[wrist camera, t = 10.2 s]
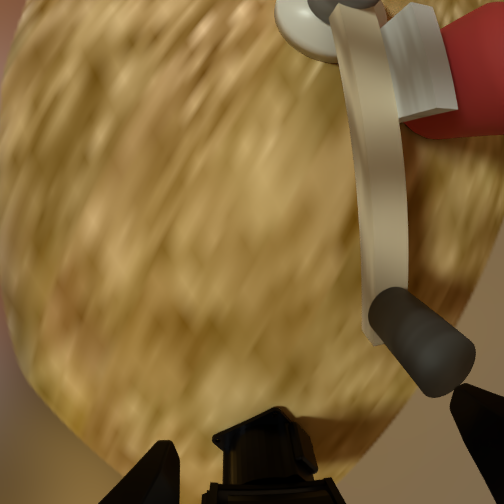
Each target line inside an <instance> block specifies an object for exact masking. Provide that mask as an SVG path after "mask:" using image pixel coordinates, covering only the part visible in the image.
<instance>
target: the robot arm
mask: <svg viewBox="0 0 504 504" xmlns="http://www.w3.org/2000/svg"><path fill="white" fill-rule="evenodd" d="M450 411H451V414H452V416H453V418H454V420H455V422H456V425H457V427H458V429H459V432H460V434H461V436H462V439H463V441H464V443H465V445H466V447H467V449H468V451H469V453H470V454H471V456H472V458H473V460H474V462H475V463H476V465H477V467H478V469H479V471H480V473H481V474H482V476H483V478H484V480H485V482H486V484H487V486H488V488H489V490H490V492H491V494H492V496H493V497H494V500H495V501H496V504H504V397H503V396H500V395H497V394H494V393H492V392H489V391H486V390H483V389H481V388H478V387H475V386H473V385H470V384H468V383H464V384H461V385H459V386H456V387H455V389H454V392H453V395H452V399H451V402H450ZM274 413H277V414H274ZM217 439H220V440H217ZM212 442H213V443H214V444H215V445H216V446H217V447H218V448H220V449H221V450H222V451H223V484H218V483H212V482H210V491H209V490H207V493H205V494H203V495H202V502H201V504H346V503H345V501H344V499H343V497H342V496H341V494H340V492H339V490H338V489H337V487H336V485H335V483H334V481H333V480H332V478H331V477H330V478H324V479H323V480H314V477H313V474H315V473H317V471H318V466H317V463H316V459H315V455H314V451H313V446H312V443H311V440H310V437H309V436H308V435H307V433H306V432H305V431H304V430H303V429H302V428H301V427H300V426H299V425H298V424H297V423H296V422H291V420H290V419H289V418H288V417H287V416H286V415H285V414H284V413H283V412H282V411H281V409H279V408H271V409H269V410H267V411H265V412H263V413H261V414H259V415H257V416H255V417H253V418H251V419H249V420H247V421H244V422H242V423H240V424H238V425H236V426H233V427H231V428H229V429H227V430H224V431H222V432H220V433H217V434H215V435H213V437H212ZM179 498H180V459H179V456H178V453H177V451H176V449H175V446H174V444H173V442H172V441H170V440H159V441H157V442H156V443H155V444H154V445H153V446H152V447H151V449H150V450H149V451H148V452H147V453H146V454H145V455H144V456H143V457H142V458H141V459H140V460H139V462H138V463H137V464H136V465H135V466H134V467H133V468H132V469H131V470H130V471H129V472H128V473H127V474H126V475H125V476H124V477H123V479H122V480H121V481H120V482H119V483H118V484H117V485H116V486H115V487H114V488H113V489H112V490H111V491H110V492H109V493H108V494H107V495H106V496H105V497H104V498H103V499H102V500H101V501H100V502H99V503H98V504H179Z"/></svg>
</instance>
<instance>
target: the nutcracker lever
mask: <svg viewBox="0 0 504 504" xmlns="http://www.w3.org/2000/svg"><path fill="white" fill-rule="evenodd" d="M379 1H380V0H307V2H308V5H309V8H310V9H311V11H312V12H313V13H314V15H315V16H316V17H318V18H319V19H320V20H322V21H323V22H325V23H327V24H329V25H330V26H331V30H332V35H333V39H334V44H335V48H336V53H337V58H338V63H339V68H340V73H341V79H342V84H343V90H344V96H345V102H346V108H347V115H348V121H349V128H350V136H351V143H352V151H353V160H354V169H355V179H356V189H357V201H358V213H359V228H360V247H361V274H362V331H363V333H364V334H365V335H366V337H367V338H368V339H369V341H370V342H371V343H372V345H373V346H377V345H381V344H385V345H386V346H387V347H388V349H389V350H390V351H391V352H392V354H393V355H394V356H395V357H396V359H397V360H398V361H399V363H400V364H401V365H402V366H403V368H404V369H405V370H406V371H407V373H408V374H409V375H410V377H411V378H412V379H413V380H414V382H415V383H416V384H417V386H418V387H419V388H420V389H421V391H422V392H423V393H424V394H425V395H426V396H428V397H432V398H436V397H441V396H444V395H446V394H448V393H450V392H452V391H453V390H454V389H455V387H456V386H459V385H460V384H461V383H462V382H463V381H464V380H465V378H466V377H467V376H468V374H469V373H470V371H471V369H472V367H473V364H474V361H475V355H476V351H475V346H474V344H473V343H472V342H471V341H470V340H469V339H468V338H466V337H465V336H464V335H463V334H462V333H460V332H459V331H458V330H457V329H455V328H454V327H453V326H452V325H450V324H449V323H448V322H447V321H445V320H444V319H443V318H442V317H440V316H439V315H438V314H437V313H435V312H434V311H433V310H432V309H430V308H429V307H428V306H426V305H425V304H424V303H423V302H421V301H420V300H419V299H417V298H416V297H415V296H413V295H412V294H411V293H410V292H408V214H407V195H406V180H405V169H404V158H403V149H402V141H401V133H400V125H399V123H402V122H406V121H410V120H414V119H418V118H422V117H427V116H431V115H435V114H440V113H444V112H449V111H454V110H458V106H457V100H456V94H455V89H454V84H453V79H452V75H451V70H450V66H449V62H448V58H447V54H446V50H445V46H444V42H443V39H442V35H441V32H440V29H439V25H438V22H437V19H436V16H435V13H434V10H433V7H431V6H426V5H422V4H418V3H413V2H410V3H409V4H408V5H407V6H406V7H404V8H403V9H402V10H401V11H400V12H399V13H397V14H396V15H395V16H394V17H393V18H392V19H391V20H390V21H388V22H387V23H386V24H385V25H384V26H383V27H382V28H381V29H380V27H379V23H378V20H377V16H376V13H375V9H374V6H375V5H376V4H377V3H378V2H379Z"/></svg>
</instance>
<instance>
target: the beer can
mask: <svg viewBox="0 0 504 504" xmlns="http://www.w3.org/2000/svg"><path fill="white" fill-rule="evenodd" d="M440 32H441V35H442V39H443V42H444V46H445V50H446V54H447V58H448V62H449V66H450V70H451V75H452V79H453V84H454V89H455V94H456V100H457V106H458V110H454V111H449V112H444V113H440V114H435V115H431V116H427V117H422V118H418V119H414V120H410V121H406V122H403V123H404V124H406V125H407V126H408V127H409V128H410V129H411V130H412V131H413V132H415V133H417V134H419V135H421V136H423V137H425V138H429V139H449V138H460V137H472V136H487V135H504V2H492V3H487V4H485V5H483V6H481V7H479V8H477V9H475V10H473V11H472V12H470V13H468V14H466V15H464V16H463V17H461V18H459V19H457V20H456V21H454V22H452V23H450V24H449V25H447V26H445V27H444V28H442V29H440Z"/></svg>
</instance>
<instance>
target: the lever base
mask: <svg viewBox="0 0 504 504" xmlns="http://www.w3.org/2000/svg"><path fill="white" fill-rule="evenodd" d="M374 9H375V13H376V16H377V20H378V23H379V27H380V29H381V28H382V27H383V26H384V25H385V24H386V23H387V15H386V11H385V8H384V6H383V3H382V2H381V0H380V1H379V2H378V3H377V4H376V5H375V6H374ZM274 17H275V22H276V25H277V27H278V29H279V31H280V33H281V35H282V36H283V37H284V39H285V40H286V41H287V42H288V43H289V44H290V45H291V46H292V47H293V48H295V49H296V50H297V51H299V52H300V53H302V54H304V55H306V56H308V57H310V58H312V59H315V60H318V61H322V62H326V63H338V58H337V53H336V48H335V44H334V39H333V35H332V30H331V26H330V25H329V24H327V23H325V22H323V21H322V20H320V19H319V18H318V17H316V16H315V15H314V13H313V12H312V11H311V9H310V8H309V5H308V2H307V0H276V4H275V9H274Z"/></svg>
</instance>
